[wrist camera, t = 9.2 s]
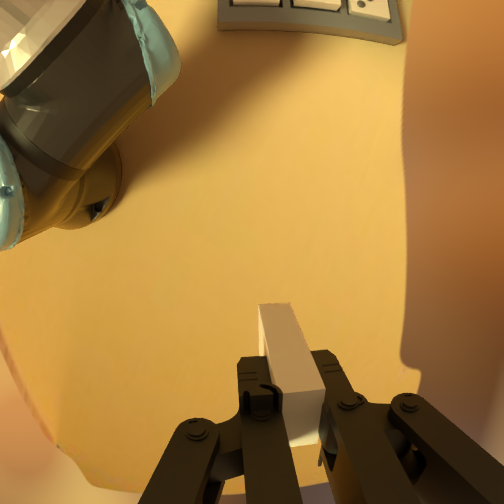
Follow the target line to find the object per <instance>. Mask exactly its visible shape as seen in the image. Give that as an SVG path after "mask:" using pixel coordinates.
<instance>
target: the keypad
mask: <svg viewBox="0 0 504 504" xmlns="http://www.w3.org/2000/svg"><path fill="white" fill-rule="evenodd" d="M387 2H388V7H389V13H390V20H388V21H387V22H382V21H377V20H373V19H368V18H362V17H357V16H351V15H348V14H347V6H346V0H341V6H340V7H339V9H338V10H337V11H335V10H328V9H321V8H312V7H302V6H294V1H293V0H280V3H279V6H278V7H253V6H235V7H233V0H218V30H276V31H294V32H307V33H317V34H327V35H335V36H342V37H349V38H356V39H362V40H367V41H373V42H378V43H383V44H388V45H393V46H394V45H396V44H397V43H399V42H401V41H402V40H403V38H402V31H401V24H400V18H399V12H398V7H397V1H396V0H387Z"/></svg>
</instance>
